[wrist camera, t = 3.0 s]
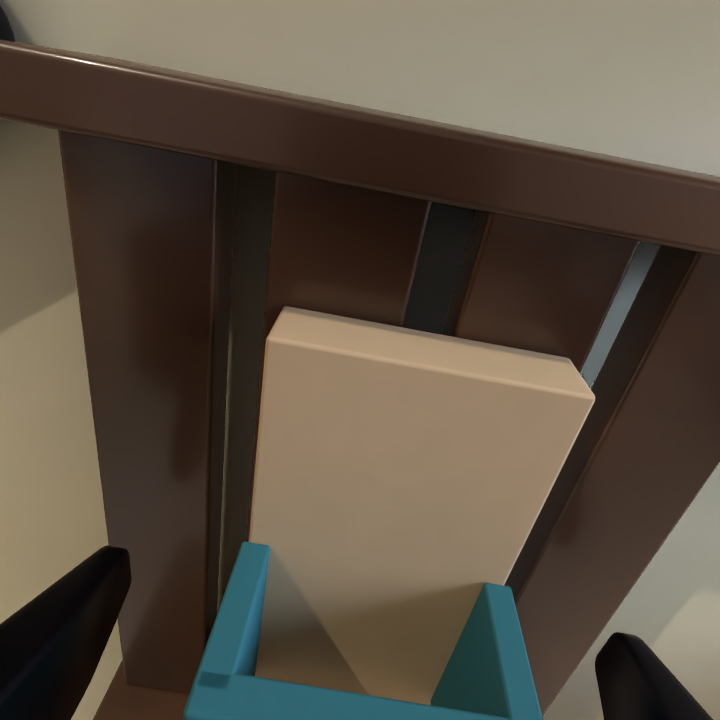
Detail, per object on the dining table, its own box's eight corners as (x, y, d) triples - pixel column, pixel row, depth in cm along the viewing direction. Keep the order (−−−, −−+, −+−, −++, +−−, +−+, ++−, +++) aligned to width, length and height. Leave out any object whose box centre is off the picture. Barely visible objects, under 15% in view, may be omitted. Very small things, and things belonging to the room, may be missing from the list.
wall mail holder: (575, 357, 8) (728, 569, 4) (427, 691, 12) (440, 919, 9) (277, 303, 7) (176, 473, 4) (243, 661, 12) (184, 879, 9)
